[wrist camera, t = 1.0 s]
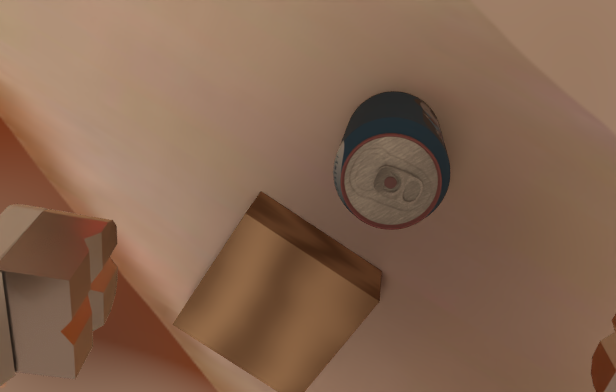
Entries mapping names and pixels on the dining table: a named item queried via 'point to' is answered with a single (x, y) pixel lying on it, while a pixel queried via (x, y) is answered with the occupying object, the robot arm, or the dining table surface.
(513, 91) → the dining table surface
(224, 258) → the block
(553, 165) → the dining table surface
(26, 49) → the dining table surface
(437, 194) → the soda can
